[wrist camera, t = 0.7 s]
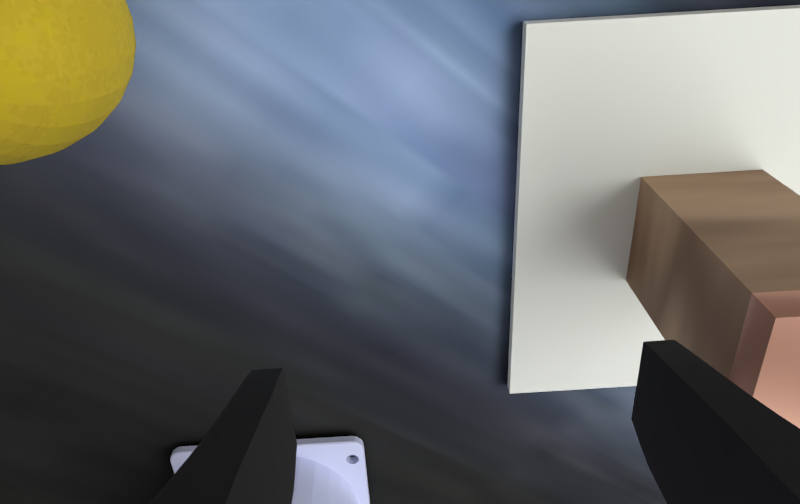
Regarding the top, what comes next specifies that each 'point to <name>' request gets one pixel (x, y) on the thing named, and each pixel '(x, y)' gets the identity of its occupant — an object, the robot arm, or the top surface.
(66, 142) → the lemon
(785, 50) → the mat
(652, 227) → the walnut block
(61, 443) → the top surface
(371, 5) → the top surface
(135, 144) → the top surface
